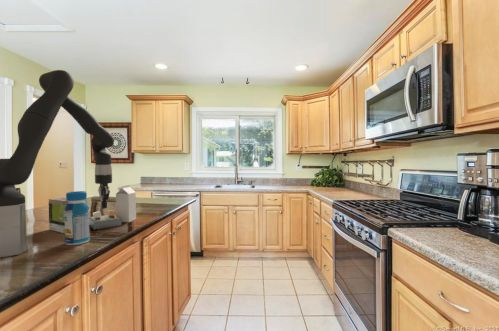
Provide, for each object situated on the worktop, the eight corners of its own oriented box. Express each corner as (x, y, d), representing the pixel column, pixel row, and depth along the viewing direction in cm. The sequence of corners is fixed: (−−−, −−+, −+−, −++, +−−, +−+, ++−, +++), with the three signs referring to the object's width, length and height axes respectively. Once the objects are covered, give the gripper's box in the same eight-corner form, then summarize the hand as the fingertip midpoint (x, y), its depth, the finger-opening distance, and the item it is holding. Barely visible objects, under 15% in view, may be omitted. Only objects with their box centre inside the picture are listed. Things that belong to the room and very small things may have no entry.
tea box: (87, 229, 125) (86, 198, 125) (63, 234, 116) (62, 201, 116) (71, 225, 133) (71, 196, 133) (48, 229, 124) (47, 198, 124)
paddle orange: (115, 215, 134) (115, 211, 134) (108, 215, 132) (109, 211, 132) (113, 214, 137) (113, 210, 137) (107, 214, 135) (107, 210, 135)
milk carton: (136, 219, 144) (135, 184, 144) (129, 222, 137) (128, 186, 137) (124, 219, 145) (123, 184, 145) (116, 222, 138) (115, 186, 138)
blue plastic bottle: (84, 244, 101) (83, 193, 101) (60, 246, 99) (59, 193, 99) (93, 238, 109) (92, 190, 109) (70, 239, 108) (69, 191, 107)
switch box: (121, 225, 131) (121, 216, 131) (94, 229, 123) (93, 220, 123) (113, 220, 142) (113, 212, 141) (87, 224, 134) (87, 216, 133)
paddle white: (101, 216, 130) (100, 212, 130) (94, 217, 128) (94, 213, 128) (99, 215, 132) (99, 211, 132) (93, 216, 131) (92, 212, 130)
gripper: (92, 173, 134) (92, 207, 135) (98, 174, 124) (98, 211, 125) (108, 173, 139) (109, 205, 140) (115, 173, 129) (116, 209, 130)
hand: (104, 208), depth 132 cm, fingers closed
